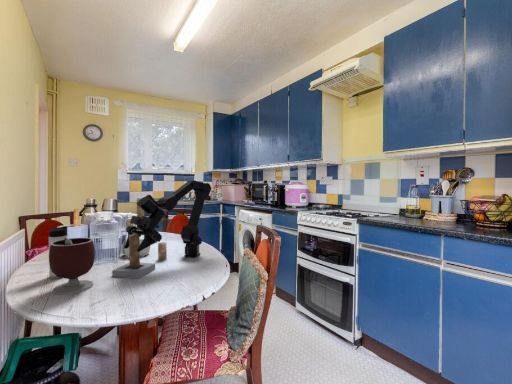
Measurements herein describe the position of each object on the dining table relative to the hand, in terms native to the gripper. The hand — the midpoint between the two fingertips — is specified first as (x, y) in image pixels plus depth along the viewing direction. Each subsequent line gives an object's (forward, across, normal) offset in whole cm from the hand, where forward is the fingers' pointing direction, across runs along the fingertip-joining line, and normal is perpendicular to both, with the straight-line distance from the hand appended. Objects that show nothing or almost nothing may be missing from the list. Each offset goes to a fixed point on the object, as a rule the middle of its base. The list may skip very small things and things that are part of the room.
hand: (131, 249), depth 116 cm
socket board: (+6, 0, +8) cm, 10 cm away
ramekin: (-6, -25, +21) cm, 33 cm away
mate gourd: (+22, -2, -8) cm, 24 cm away
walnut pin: (+6, 0, +8) cm, 10 cm away
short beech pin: (-8, -7, +22) cm, 25 cm away
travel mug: (+20, -21, -6) cm, 30 cm away
